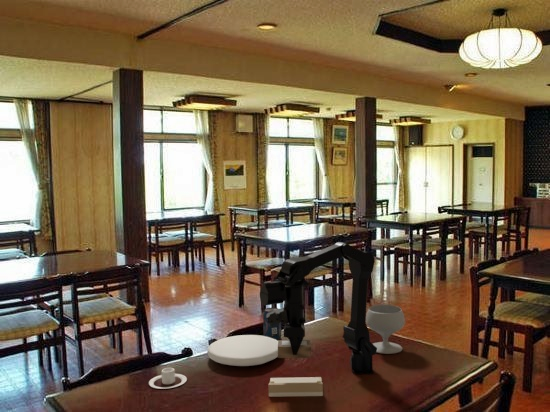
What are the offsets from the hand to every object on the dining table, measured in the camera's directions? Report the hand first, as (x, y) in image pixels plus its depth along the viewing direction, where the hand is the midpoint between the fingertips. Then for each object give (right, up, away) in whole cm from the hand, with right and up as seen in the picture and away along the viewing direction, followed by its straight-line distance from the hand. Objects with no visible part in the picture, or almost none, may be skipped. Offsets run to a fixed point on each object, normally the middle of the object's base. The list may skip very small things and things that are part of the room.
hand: (294, 351), depth 162 cm
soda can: (-7, -8, +46) cm, 47 cm away
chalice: (+34, -8, +32) cm, 48 cm away
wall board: (0, -11, 0) cm, 11 cm away
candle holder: (-40, -13, +8) cm, 43 cm away
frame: (0, -1, 0) cm, 1 cm away
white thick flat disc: (-17, -10, +28) cm, 34 cm away
